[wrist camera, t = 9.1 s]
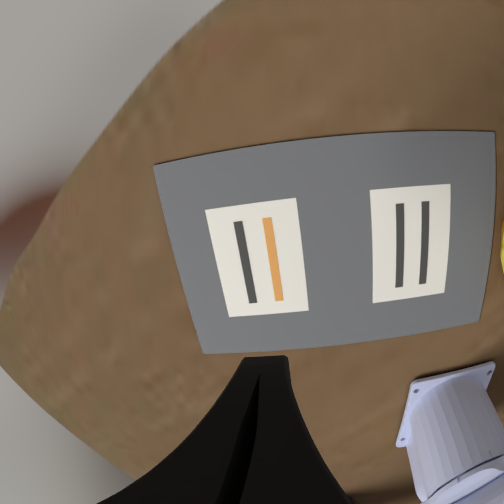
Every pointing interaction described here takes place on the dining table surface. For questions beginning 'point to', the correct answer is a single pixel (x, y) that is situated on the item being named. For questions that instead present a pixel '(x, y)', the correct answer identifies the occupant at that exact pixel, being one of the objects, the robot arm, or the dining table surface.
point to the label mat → (332, 237)
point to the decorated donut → (502, 244)
